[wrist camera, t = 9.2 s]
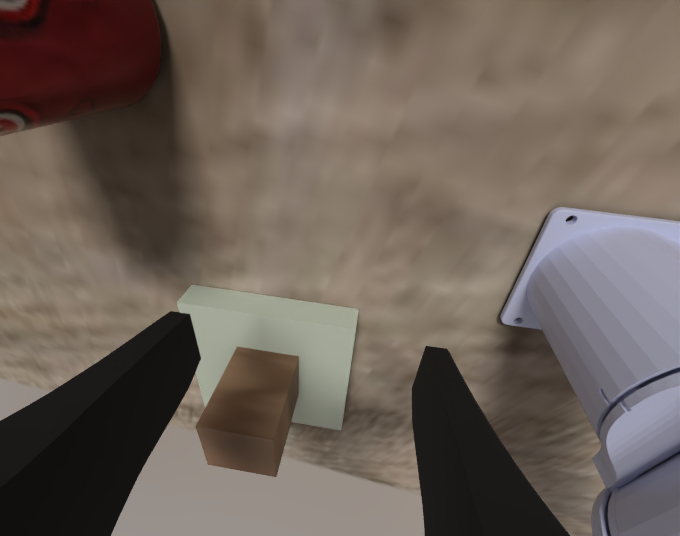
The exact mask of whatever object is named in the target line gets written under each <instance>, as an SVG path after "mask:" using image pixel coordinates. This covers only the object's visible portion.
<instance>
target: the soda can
mask: <svg viewBox="0 0 680 536" xmlns="http://www.w3.org/2000/svg"><path fill="white" fill-rule="evenodd" d="M160 62H161V36H160V28H159V23H158V19H157V15H156V12H155V8H154V5H153V2H152V0H0V136H4V135H8V134H13V133H17V132H21V131H25V130H30V129H34V128H38V127H43V126H47V125H51V124H55V123H60V122H64V121H68V120H73V119H77V118H81V117H86V116H90V115H94V114H98V113H103V112H107V111H111V110H116V109H120V108H123V107H127V106H131V105H133V104H134V103H136V102H138V101H139V100H141V99H142V98H143V97H144V96H145V95H146V94H147V93H148V92H149V91H150V90H151V88H152V86H153V84H154V82H155V80H156V78H157V75H158V71H159V67H160Z"/></svg>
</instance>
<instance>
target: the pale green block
mask: <svg viewBox="0 0 680 536" xmlns="http://www.w3.org/2000/svg"><path fill="white" fill-rule="evenodd" d="M177 305H178V309H179V312H180V313H187V314H190V316H191V320H192V324H193V328H194V332H195V336H196V340H197V344H198V348H199V352H200V356H201V360H200V362H199V365H198V367H197V370H196V375H197V379H198V383H199V386H200V390H201V394H202V397H203V401H204V405H205V407H206V406H207V404H208V402H209V400H210V398H211V396H212V394H213V392H214V390H215V388H216V386H217V384H218V382H219V381H220V379H221V377H222V375H223V373H224V371H225V369H226V367H227V365H228V363H229V361H230V359H231V357H232V355H233V354H234V352H235V350H236V348H237V347H243V348H250V349H256V350H262V351H269V352H275V353H281V354H287V355H294V356H299V395H298V398H297V402H296V406H295V409H294V413H293V417H292V420H291V422H294V423H300V424H306V425H311V426H317V427H323V428H329V429H334V430H340V431H341V429H342V422H343V415H344V409H345V402H346V395H347V388H348V381H349V374H350V367H351V361H352V354H353V347H354V340H355V333H356V326H357V318H358V311H359V309H355V308H348V307H341V306H335V305H328V304H321V303H314V302H308V301H301V300H294V299H287V298H281V297H274V296H267V295H260V294H253V293H247V292H240V291H233V290H226V289H220V288H213V287H206V286H199V285H193V284H192V285H191V286H190V287H189V288H188V290H187V291H186V292H185V293H184V294H183V296H182V297H181V298H180V299H179V300H178V302H177Z"/></svg>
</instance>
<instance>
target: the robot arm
mask: <svg viewBox="0 0 680 536" xmlns="http://www.w3.org/2000/svg"><path fill="white" fill-rule="evenodd" d="M573 215H574V217H573V219H572V220H570V221H566V219H567V218H568V217H569V216H573ZM500 318H501V320H502V322H503V323H504V324H506V325H512V326H519V327H526V328H533V329H539V330H542V331H543V333H544V335H545V336H546V338H547V340H548V342H549V344H550V346H551V348H552V350H553V352H554V354H555V356H556V357H557V359H558V361H559V363H560V365H561V367H562V369H563V371H564V373H565V375H566V377H567V379H568V380H569V382H570V384H571V386H572V388H573V390H574V392H575V394H576V396H577V398H578V400H579V402H580V403H581V405H582V407H583V409H584V411H585V413H586V415H587V417H588V419H589V421H590V423H591V424H592V426H593V428H594V430H595V432H596V434H597V436H598V438H599V440H600V442H601V449H600V451H599V452H598V453H597V454H596V455H595V456H594V457H593V458H592V459H593V461H594V463H595V465H596V468H597V470H598V472H599V474H600V476H601V478H602V480H603V482H604V484H605V486H606V488H605V489H604V490H603V491H602V492H601V493H600V494H599V495H598V496H597V498H596V500H595V502H594V505H593V509H592V515H591V520H592V533H593V536H680V221H673V220H665V219H656V218H648V217H640V216H632V215H624V214H615V213H607V212H599V211H591V210H583V209H574V208H566V207H558V208H555V209H554V210H552V211H551V212H550V213H549V215H548V217H547V219H546V221H545V223H544V225H543V227H542V229H541V231H540V234H539V236H538V238H537V240H536V242H535V244H534V246H533V248H532V250H531V252H530V254H529V257H528V259H527V261H526V263H525V265H524V267H523V269H522V271H521V273H520V275H519V277H518V279H517V282H516V284H515V286H514V288H513V290H512V292H511V294H510V296H509V298H508V300H507V302H506V305H505V307H504V309H503V311H502V313H501V315H500ZM516 318H519V319H516ZM515 319H516V320H515ZM200 360H201V356H200V352H199V348H198V344H197V340H196V336H195V332H194V328H193V324H192V320H191V316H190V314H187V313H180V312H172V311H171V312H169V313H168V314H166V315H165V316H163V317H162V318H160V319H159V320H157V321H156V322H155V323H153V324H152V325H150V326H149V327H147V328H146V329H145V330H143V331H142V332H140V333H139V334H138V335H136V336H135V337H133V338H132V339H131V340H129V341H128V342H126V343H125V344H123V345H122V346H120V347H119V348H118V349H116V350H115V351H113V352H112V353H110V354H109V355H107V356H106V357H105V358H103V359H102V360H100V361H99V362H97V363H96V364H94V365H93V366H91V367H89V368H88V369H86V370H85V371H83V372H82V373H80V374H79V375H77V376H75V377H74V378H72V379H71V380H69V381H68V382H66V383H64V384H63V385H61V386H60V387H58V388H57V389H55V390H53V391H52V392H50V393H48V394H47V395H45V396H44V397H42V398H40V399H39V400H37V401H35V402H33V403H32V404H30V405H28V406H26V407H25V408H23V409H21V410H19V411H17V412H16V413H14V414H12V415H10V416H8V417H7V418H5V419H3V420H1V421H0V536H111V533H112V531H113V529H114V527H115V524H116V522H117V520H118V518H119V515H120V513H121V511H122V509H123V507H124V505H125V503H126V501H127V498H128V496H129V494H130V492H131V490H132V488H133V486H134V484H135V482H136V480H137V477H138V475H139V474H140V472H141V470H142V468H143V466H144V465H145V463H146V461H147V459H148V457H149V456H150V454H151V452H152V451H153V449H154V447H155V445H156V444H157V442H158V440H159V438H160V437H161V435H162V433H163V432H164V430H165V428H166V427H167V425H168V423H169V421H170V420H171V418H172V416H173V415H174V413H175V411H176V409H177V408H178V406H179V404H180V402H181V401H182V399H183V397H184V395H185V394H186V392H187V390H188V388H189V386H190V383H191V381H192V379H193V377H194V374H195V372H196V370H197V367H198V365H199V362H200ZM412 423H413V432H414V440H415V448H416V456H417V464H418V472H419V480H420V488H421V496H422V504H423V515H424V528H425V536H570V535H569V534H568V532H567V531H566V530H565V529H564V527H563V526H562V525H561V524H560V522H559V521H558V520H557V518H556V517H555V516H554V515H553V513H552V512H551V511H550V510H549V508H548V507H547V506H546V504H545V503H544V502H543V500H542V499H541V498H540V496H539V495H538V494H537V492H536V491H535V490H534V488H533V487H532V486H531V484H530V483H529V482H528V480H527V479H526V477H525V476H524V475H523V473H522V472H521V470H520V469H519V468H518V466H517V465H516V463H515V462H514V460H513V459H512V457H511V456H510V454H509V453H508V451H507V450H506V448H505V447H504V445H503V444H502V442H501V441H500V439H499V438H498V436H497V435H496V433H495V432H494V430H493V428H492V427H491V425H490V424H489V422H488V420H487V419H486V417H485V415H484V414H483V412H482V410H481V409H480V407H479V405H478V404H477V402H476V400H475V399H474V397H473V395H472V393H471V392H470V390H469V388H468V386H467V384H466V383H465V381H464V379H463V377H462V375H461V374H460V372H459V370H458V368H457V366H456V364H455V362H454V360H453V358H452V356H451V354H450V352H449V351H448V350H447V349H444V348H437V347H430V346H426V347H425V350H424V353H423V356H422V359H421V362H420V365H419V368H418V372H417V375H416V378H415V381H414V384H413V387H412Z"/></svg>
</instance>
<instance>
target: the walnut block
mask: <svg viewBox="0 0 680 536" xmlns="http://www.w3.org/2000/svg"><path fill="white" fill-rule="evenodd" d="M298 395H299V356H294V355H287V354H281V353H275V352H269V351H262V350H256V349H250V348H243V347H237V348H236V350H235V352H234V354H233V355H232V357H231V359H230V361H229V363H228V365H227V367H226V369H225V371H224V373H223V375H222V377H221V379H220V381H219V382H218V384H217V386H216V388H215V390H214V392H213V394H212V396H211V398H210V400H209V402H208V404H207V406H206V408H205V409H204V411H203V413H202V415H201V417H200V419H199V421H198V423H197V425H196V429H197V432H198V435H199V438H200V441H201V444H202V447H203V450H204V454H205V457H206V460H207V463H208V465H214V466H219V467H224V468H230V469H235V470H240V471H246V472H252V473H257V474H263V475H268V476H274V477H276V475H277V472H278V468H279V465H280V461H281V457H282V454H283V450H284V446H285V443H286V439H287V435H288V432H289V428H290V424H291V420H292V417H293V413H294V409H295V406H296V402H297V398H298Z"/></svg>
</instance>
